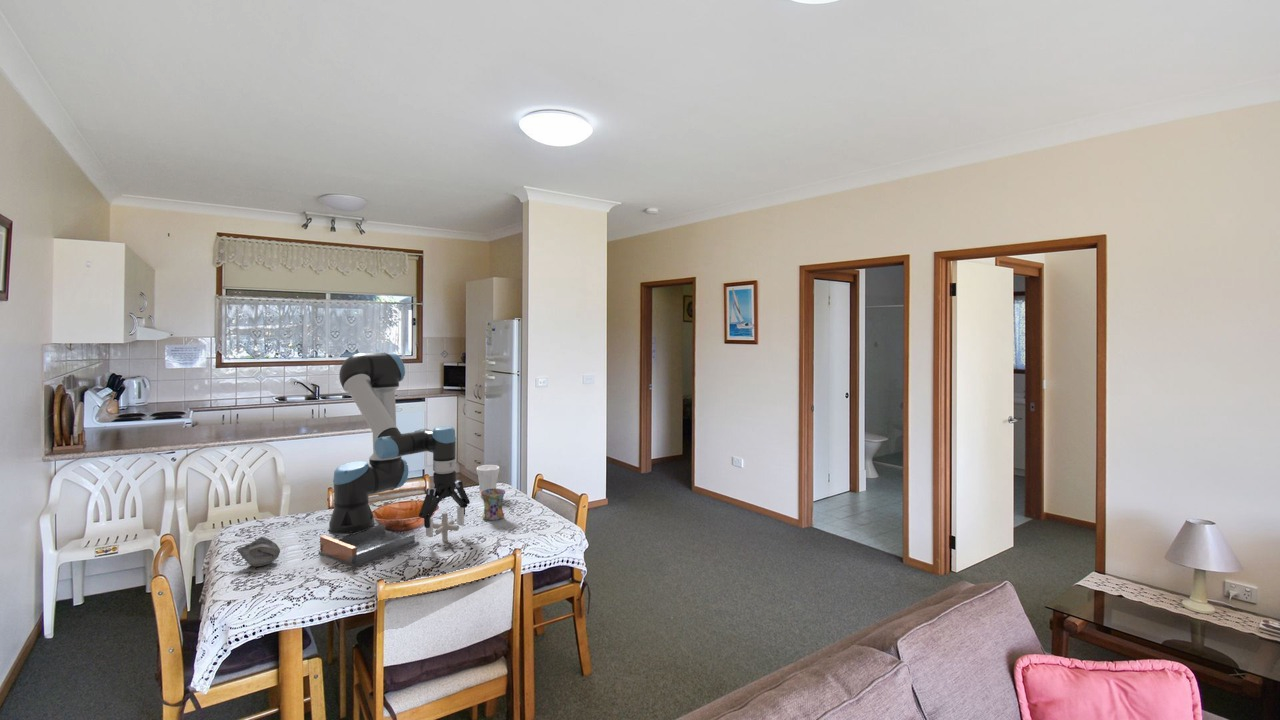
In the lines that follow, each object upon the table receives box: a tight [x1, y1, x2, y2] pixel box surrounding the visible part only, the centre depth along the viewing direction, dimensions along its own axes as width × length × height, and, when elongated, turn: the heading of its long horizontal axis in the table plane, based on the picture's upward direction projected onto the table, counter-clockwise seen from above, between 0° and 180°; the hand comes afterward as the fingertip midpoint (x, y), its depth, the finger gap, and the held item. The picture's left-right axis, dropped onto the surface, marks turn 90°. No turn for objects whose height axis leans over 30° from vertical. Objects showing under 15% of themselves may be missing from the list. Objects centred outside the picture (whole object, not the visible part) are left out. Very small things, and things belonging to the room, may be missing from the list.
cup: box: [476, 464, 501, 498], centre depth 260 cm, size 10×10×13 cm
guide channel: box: [318, 523, 420, 569], centre depth 200 cm, size 24×20×6 cm
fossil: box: [237, 536, 281, 567], centre depth 186 cm, size 11×9×8 cm
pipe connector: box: [433, 511, 460, 543], centre depth 208 cm, size 10×10×10 cm
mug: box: [480, 487, 506, 521], centre depth 233 cm, size 12×9×11 cm
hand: (445, 530), depth 208 cm, fingers open, 13 cm apart
